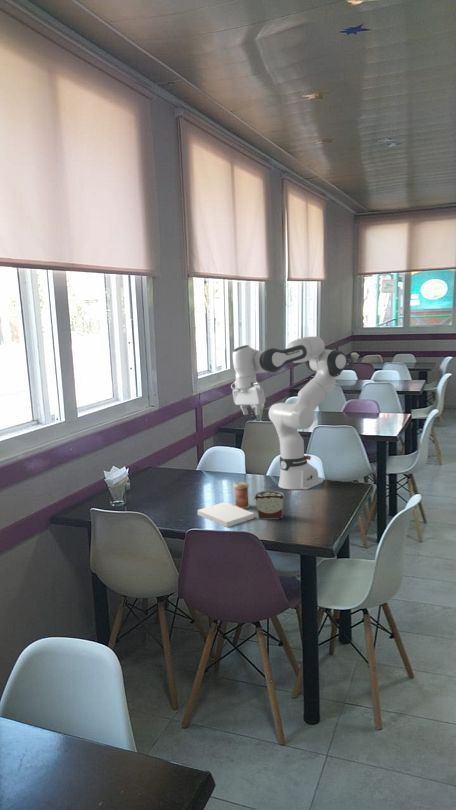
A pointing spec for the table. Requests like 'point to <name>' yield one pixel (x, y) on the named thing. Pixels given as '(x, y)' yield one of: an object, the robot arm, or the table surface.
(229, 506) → the shelf board
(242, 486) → the cord spool
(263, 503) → the food container
